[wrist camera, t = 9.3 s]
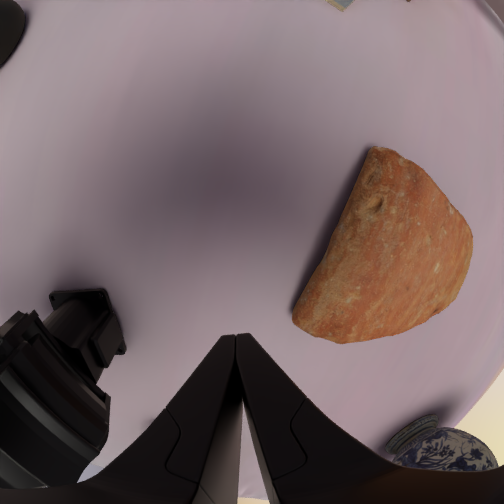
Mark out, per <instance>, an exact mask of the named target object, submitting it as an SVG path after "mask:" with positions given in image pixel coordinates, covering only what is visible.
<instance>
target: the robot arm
mask: <svg viewBox="0 0 504 504" xmlns="http://www.w3.org/2000/svg"><path fill="white" fill-rule="evenodd" d="M100 294H102V295H103V297H102V296H100ZM49 299H50V302H51V305H52V307H53V310H54V311H53V312H52V313H51V314H50V315H49V316H48V317H47V318H46V319H45V321H44V322H43V323H42V321H41V320H40V318H39V317H38V316H39V315H38V314H37V312H36V311H35V309H34V310H33V311H32V312H31V313H30V314H28V313H25V314H24V313H22V312H20V311H17V312H16V313H15V314H14V315H13V316H12V317H11V318H10V319H9V320H8V321H7V322H5V323H4V324H3V325H2V326H1V327H0V504H237V498H238V482H239V465H240V448H241V431H242V414H243V403H244V408H245V412H246V417H247V421H248V425H249V429H250V433H251V437H252V441H253V444H254V448H255V452H256V456H257V460H258V463H259V467H260V471H261V474H262V478H263V481H264V485H265V488H266V492H267V495H268V499H269V502H270V504H504V465H502V466H500V467H498V468H494V469H490V470H484V471H444V470H430V469H420V468H411V467H405V466H402V465H398V464H395V463H393V462H391V461H389V460H387V459H385V458H383V457H382V456H380V455H378V454H377V453H375V452H374V451H372V450H371V449H370V448H368V447H367V446H365V445H364V444H362V443H361V442H359V441H358V440H357V439H355V438H354V437H352V436H351V435H350V434H348V433H347V432H346V431H344V430H343V429H342V428H340V427H339V426H338V425H337V424H335V423H334V422H333V421H332V420H330V419H329V418H328V417H327V416H326V415H325V414H324V413H323V412H322V411H321V410H320V409H319V408H318V407H316V405H315V404H314V403H313V402H312V401H311V400H310V399H309V398H307V396H306V395H305V394H304V393H303V392H302V391H301V390H300V389H299V388H298V386H297V385H296V384H295V383H294V382H293V381H292V380H291V379H290V378H289V377H288V376H287V374H286V373H285V372H284V371H283V370H282V369H281V368H280V367H279V366H278V365H277V363H276V362H275V361H274V360H273V359H272V358H271V357H270V355H269V354H268V353H267V352H266V351H265V350H264V349H263V348H262V346H261V345H260V344H259V343H258V342H257V341H256V339H255V338H254V337H253V336H252V335H251V334H250V333H243V334H237V335H236V336H235V335H234V334H232V335H222V336H221V337H220V338H219V340H218V341H217V342H216V344H215V345H214V346H213V347H212V349H211V350H210V351H209V353H208V354H207V355H206V356H205V358H204V359H203V360H202V362H201V363H200V364H199V365H198V367H197V368H196V369H195V371H194V372H193V373H192V374H191V376H190V377H189V378H188V379H187V381H186V382H185V383H184V385H183V386H182V387H181V388H180V390H179V391H178V392H177V393H176V395H175V396H174V397H173V398H172V400H171V401H170V402H169V403H168V405H167V406H166V408H165V409H163V411H162V412H161V413H160V414H159V415H158V417H157V418H156V419H155V420H154V421H153V422H152V424H151V425H150V426H149V427H148V428H147V429H146V430H145V431H144V432H143V433H142V434H141V435H140V436H139V437H138V438H137V439H136V440H135V441H134V442H133V443H132V444H131V445H130V446H129V447H128V448H127V449H126V450H124V451H123V452H122V453H121V454H120V455H119V456H118V457H117V458H115V459H114V460H113V461H112V462H111V463H110V464H109V465H108V466H106V467H105V468H104V469H103V470H102V471H100V472H99V473H98V474H97V475H95V476H93V477H92V478H89V479H87V480H85V481H82V482H79V483H77V481H78V480H79V478H80V476H81V474H82V472H83V471H84V469H85V468H86V467H87V466H88V465H89V463H90V462H91V461H92V460H93V459H95V458H96V457H97V456H98V455H99V454H100V451H101V450H102V448H103V447H104V445H105V443H106V441H107V438H108V434H109V417H110V402H111V397H110V396H109V395H108V394H107V393H106V392H105V393H104V392H103V391H102V390H101V389H100V388H99V387H98V386H97V385H96V384H97V382H98V380H99V378H100V376H101V374H102V372H103V370H104V368H108V367H109V365H110V363H111V361H112V359H113V357H114V355H124V354H125V352H126V346H125V344H124V341H123V336H122V333H121V330H120V327H119V325H118V322H117V319H116V316H115V314H114V313H113V310H112V307H111V304H110V301H109V298H108V295H107V292H106V291H105V290H104V289H87V290H71V291H54V292H52V293H50V295H49ZM119 348H120V349H119ZM121 349H122V350H121ZM46 486H47V487H46ZM42 487H44V488H42Z"/></svg>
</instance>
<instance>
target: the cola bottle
mask: <svg viewBox="0 0 504 504" xmlns="http://www.w3.org/2000/svg"><path fill="white" fill-rule="evenodd" d="M24 25H25V15H24V12H23V10H22V8H21V7H20V6H19V5H18V4H17V3H16V2H15V1H13V0H0V65H1V64H2V63H3V62H4V61H5V60H6V59H7V57H8V56H9V55H10V53H11V52H12V51H13V49H14V48H15V46H16V44H17V42H18V40H19V38H20V36H21V34H22V31H23V28H24Z"/></svg>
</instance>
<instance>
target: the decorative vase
mask: <svg viewBox="0 0 504 504" xmlns="http://www.w3.org/2000/svg"><path fill="white" fill-rule="evenodd" d="M437 425H438V417H437V416H436V415H428V416H425V417H422V418H420V419H418V420H416V421H414V422H413V423H411V424H409V425H408V426H407V427H405V428H404V429H402V430H401V431H400V432H398V433H397V434H396V435H395V436H394V437H393V438H392V439H391V440H390V441H389V442H388V444H387V445H386V451H387V452H388V453H389V454H397V455H396V456H395V457H394V459H393V461H392V462H393V463H395V464H398V465H402V466H405V467H411V468H420V469H430V470H444V471H484V470H490V469H494V468H498V467H499V466H498V463H497V460H496V458H495V456H494V455H493V453H492V451H491V450H490V449H489V448H488V446H487V445H486V444H485V443H483V442H482V441H481V440H479V439H478V438H476V437H474V436H473V435H471V434H469V433H467V432H464V431H461V430H458V429H454V428H448V427H444V428H436V427H437Z"/></svg>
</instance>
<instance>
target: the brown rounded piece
mask: <svg viewBox="0 0 504 504" xmlns="http://www.w3.org/2000/svg"><path fill="white" fill-rule="evenodd" d="M472 251H473V236H472V232H471V229H470V227H469V225H468V224H467V222H466V220H465V219H464V217H463V216H462V215H461V214H460V213H459V211H458V210H457V209H456V208H455V207H454V206H453V205H452V204H451V203H450V202H449V200H448V198H447V197H446V195H445V194H444V193H443V192H442V191H441V190H440V188H439V187H438V186H437V185H436V183H435V182H434V181H433V180H432V178H431V177H430V176H429V175H428V174H427V173H426V172H425V171H424V170H423V169H422V168H421V167H419V166H418V165H417V164H415V163H413V162H412V161H410V160H408V159H405V158H404V157H402V156H401V155H399V154H398V153H397V152H396V151H393V150H391V149H388V148H383V147H377V146H374V147H372V148H370V150H369V151H368V154H367V157H366V159H365V162H364V165H363V167H362V170H361V172H360V174H359V176H358V179H357V181H356V183H355V186H354V188H353V190H352V192H351V195H350V197H349V199H348V201H347V204H346V206H345V208H344V210H343V213H342V215H341V217H340V220H339V222H338V225H337V227H336V228H335V230H334V232H333V234H332V236H331V239H330V242H329V245H328V248H327V251H326V253H325V255H324V257H323V259H322V261H321V263H320V264H319V265H318V266H317V268H316V269H315V271H314V273H313V275H312V276H311V278H310V280H309V282H308V283H307V285H306V287H305V289H304V291H303V293H302V294H301V296H300V298H299V299H298V301H297V303H296V305H295V307H294V309H293V313H292V321H293V323H294V324H295V325H296V326H297V327H299V328H300V329H302V330H304V331H305V332H307V333H309V334H310V335H312V336H314V337H320V338H324V339H327V340H330V341H333V342H335V343H337V344H345V343H352V342H361V341H368V340H372V339H376V338H381V337H385V336H393V335H396V334H400V333H402V332H405V331H407V330H409V329H411V328H413V327H415V326H417V325H419V324H422V323H424V322H426V321H427V320H428V319H429V318H430V317H432V316H434V315H435V314H438V313H440V312H441V311H443V310H444V309H445V308H446V307H447V306H449V304H450V303H451V302H453V301H454V300H455V299H456V297H457V294H458V292H459V290H460V288H461V286H462V284H463V282H464V279H465V277H466V274H467V272H468V269H469V264H470V260H471V257H472Z"/></svg>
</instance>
